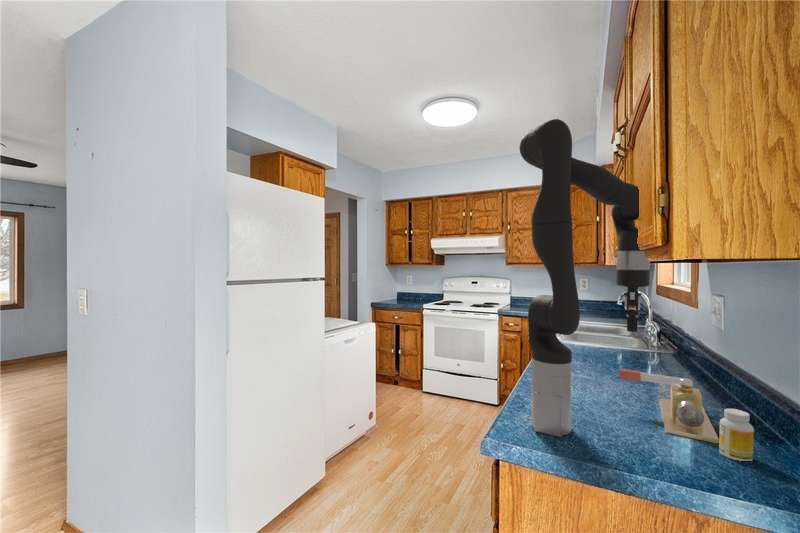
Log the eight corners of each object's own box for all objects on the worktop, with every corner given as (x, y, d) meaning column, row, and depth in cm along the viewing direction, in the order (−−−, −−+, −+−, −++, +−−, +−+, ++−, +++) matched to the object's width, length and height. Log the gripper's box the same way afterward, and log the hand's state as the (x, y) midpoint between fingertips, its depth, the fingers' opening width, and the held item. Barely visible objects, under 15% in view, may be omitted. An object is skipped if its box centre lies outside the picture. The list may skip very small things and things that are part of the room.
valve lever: (691, 386, 96) (691, 378, 96) (693, 389, 94) (693, 381, 94) (619, 375, 105) (619, 368, 105) (619, 378, 103) (619, 370, 103)
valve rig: (719, 443, 83) (719, 406, 83) (665, 432, 88) (665, 397, 88) (702, 409, 103) (702, 378, 103) (659, 401, 108) (659, 372, 108)
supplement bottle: (712, 451, 80) (713, 408, 79) (730, 448, 81) (731, 405, 81) (741, 464, 74) (741, 418, 74) (759, 461, 76) (760, 415, 76)
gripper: (651, 268, 88) (650, 335, 88) (648, 268, 100) (648, 327, 100) (615, 268, 92) (614, 331, 92) (617, 268, 104) (616, 324, 104)
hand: (632, 329), depth 96 cm, fingers open, 7 cm apart
